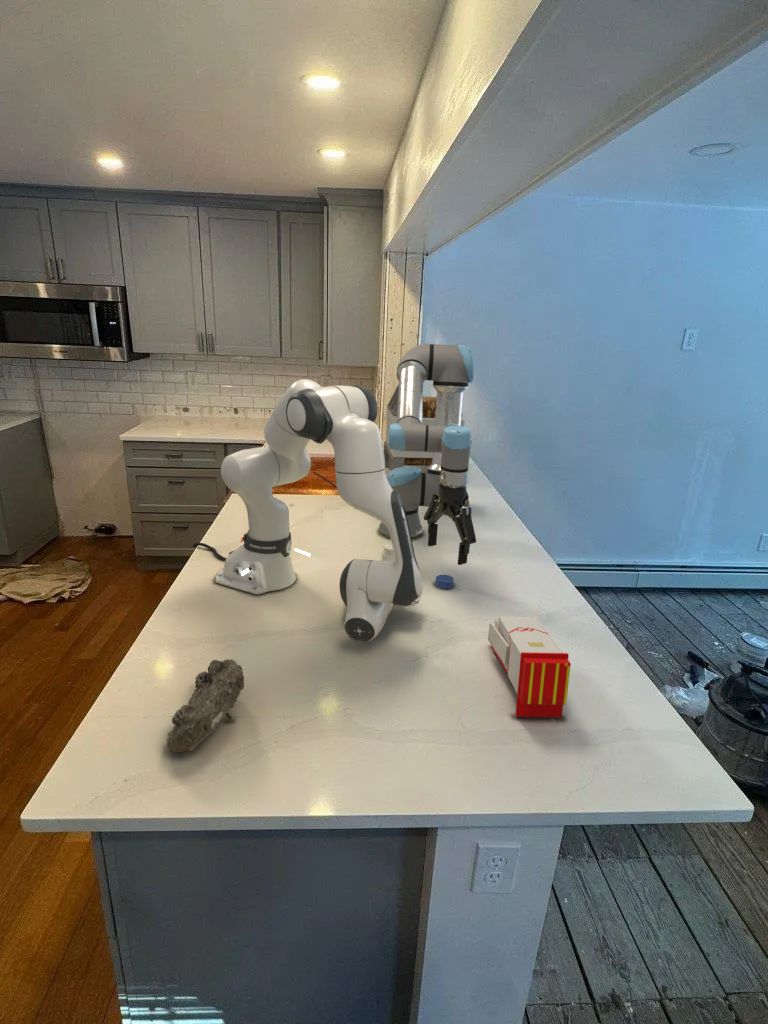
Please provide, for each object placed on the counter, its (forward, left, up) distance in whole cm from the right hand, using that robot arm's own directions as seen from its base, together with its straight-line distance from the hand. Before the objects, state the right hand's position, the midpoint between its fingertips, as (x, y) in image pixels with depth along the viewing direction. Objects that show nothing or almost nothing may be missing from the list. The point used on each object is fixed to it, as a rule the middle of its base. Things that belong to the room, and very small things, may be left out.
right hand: (446, 554), depth 162 cm
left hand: (-3, -18, -3) cm, 19 cm away
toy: (+41, -19, -9) cm, 46 cm away
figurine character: (-43, +53, -9) cm, 69 cm away
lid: (+1, -1, -8) cm, 8 cm away
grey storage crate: (-89, +76, -9) cm, 117 cm away
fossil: (+13, -77, -9) cm, 79 cm away
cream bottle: (-3, -19, -9) cm, 21 cm away
